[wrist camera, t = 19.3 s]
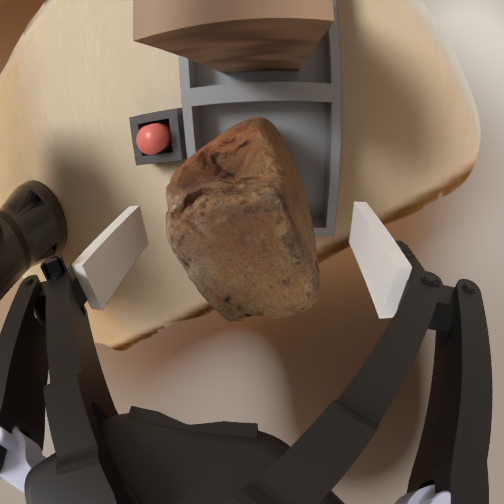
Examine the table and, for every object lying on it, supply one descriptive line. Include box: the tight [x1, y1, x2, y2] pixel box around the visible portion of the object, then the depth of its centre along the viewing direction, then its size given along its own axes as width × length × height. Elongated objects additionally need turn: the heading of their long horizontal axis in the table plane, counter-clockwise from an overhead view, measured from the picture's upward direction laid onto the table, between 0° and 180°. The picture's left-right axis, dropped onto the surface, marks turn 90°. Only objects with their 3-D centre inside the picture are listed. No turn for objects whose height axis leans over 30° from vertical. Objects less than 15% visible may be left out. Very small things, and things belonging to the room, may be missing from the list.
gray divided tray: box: [179, 0, 341, 236], centre depth 25 cm, size 16×32×4 cm, turn 3°
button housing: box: [129, 108, 187, 165], centre depth 28 cm, size 6×6×3 cm
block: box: [166, 117, 320, 321], centre depth 21 cm, size 11×8×20 cm
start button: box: [136, 122, 172, 155], centre depth 27 cm, size 3×3×4 cm
